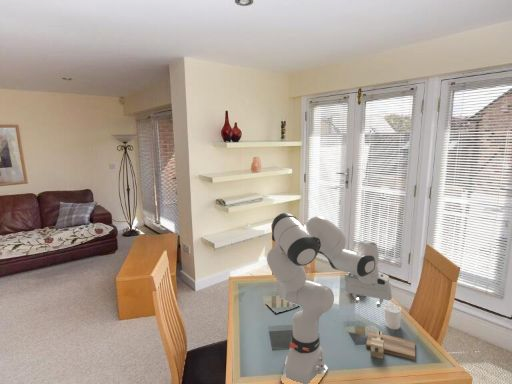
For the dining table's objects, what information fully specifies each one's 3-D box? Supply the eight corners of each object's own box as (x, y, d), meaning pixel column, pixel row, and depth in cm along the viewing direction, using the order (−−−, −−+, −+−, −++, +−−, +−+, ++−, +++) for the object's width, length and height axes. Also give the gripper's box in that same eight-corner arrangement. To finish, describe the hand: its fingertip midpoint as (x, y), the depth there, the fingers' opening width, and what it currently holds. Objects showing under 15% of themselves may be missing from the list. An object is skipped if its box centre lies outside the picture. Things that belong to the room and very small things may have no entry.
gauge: (382, 360, 126) (382, 348, 125) (370, 357, 128) (370, 345, 127) (385, 339, 139) (385, 328, 138) (374, 337, 142) (374, 325, 141)
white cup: (391, 332, 145) (391, 313, 144) (381, 323, 153) (381, 305, 151) (404, 328, 147) (404, 310, 146) (393, 320, 155) (393, 303, 153)
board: (415, 360, 125) (415, 356, 125) (366, 348, 135) (366, 344, 134) (414, 345, 135) (414, 341, 134) (369, 334, 144) (369, 330, 144)
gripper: (343, 274, 133) (343, 302, 135) (391, 282, 123) (391, 312, 125) (346, 269, 139) (346, 296, 140) (392, 276, 129) (392, 306, 130)
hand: (367, 304), depth 133 cm, fingers open, 8 cm apart
